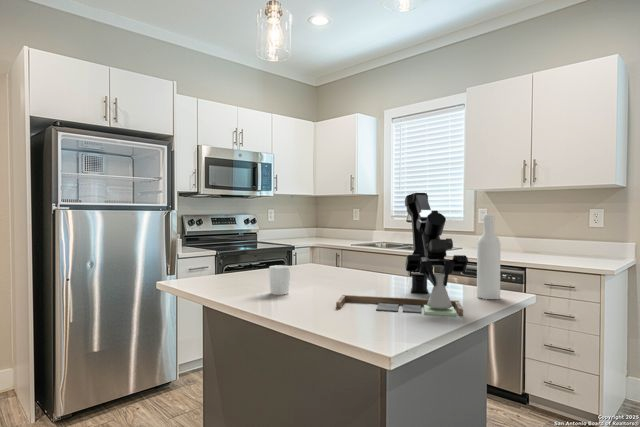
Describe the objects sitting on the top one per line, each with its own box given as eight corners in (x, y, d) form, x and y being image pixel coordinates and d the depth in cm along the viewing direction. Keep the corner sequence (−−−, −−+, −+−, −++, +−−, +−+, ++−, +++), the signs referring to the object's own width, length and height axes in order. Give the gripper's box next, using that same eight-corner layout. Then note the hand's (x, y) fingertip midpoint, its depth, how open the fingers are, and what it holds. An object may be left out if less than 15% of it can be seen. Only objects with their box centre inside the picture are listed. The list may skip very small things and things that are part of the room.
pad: (423, 307, 132) (423, 304, 132) (453, 309, 131) (453, 306, 131) (424, 314, 124) (424, 311, 124) (456, 316, 122) (456, 313, 122)
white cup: (278, 290, 160) (278, 264, 160) (294, 293, 155) (294, 266, 155) (264, 293, 153) (264, 266, 153) (280, 296, 149) (280, 268, 149)
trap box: (342, 300, 142) (342, 294, 142) (458, 306, 133) (458, 300, 133) (336, 308, 130) (336, 302, 130) (463, 316, 122) (463, 309, 122)
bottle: (483, 300, 144) (483, 214, 144) (472, 295, 152) (473, 214, 152) (504, 299, 145) (505, 214, 145) (493, 295, 153) (494, 214, 153)
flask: (456, 307, 126) (456, 274, 126) (439, 310, 122) (439, 276, 122) (439, 303, 132) (439, 271, 132) (422, 305, 129) (422, 273, 129)
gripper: (407, 229, 131) (412, 269, 121) (466, 229, 130) (478, 270, 120) (403, 251, 139) (408, 290, 129) (459, 251, 138) (469, 291, 128)
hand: (440, 285), depth 126 cm, fingers closed on flask, 3 cm apart
